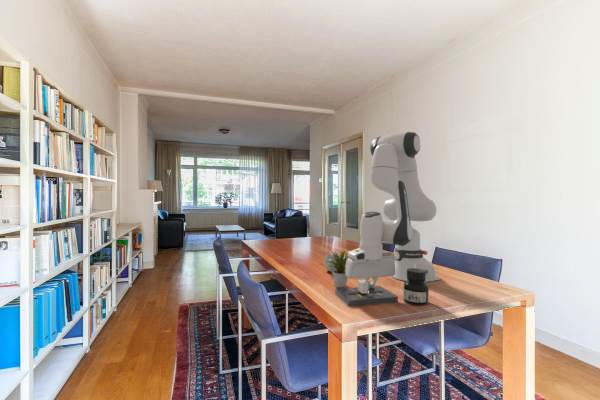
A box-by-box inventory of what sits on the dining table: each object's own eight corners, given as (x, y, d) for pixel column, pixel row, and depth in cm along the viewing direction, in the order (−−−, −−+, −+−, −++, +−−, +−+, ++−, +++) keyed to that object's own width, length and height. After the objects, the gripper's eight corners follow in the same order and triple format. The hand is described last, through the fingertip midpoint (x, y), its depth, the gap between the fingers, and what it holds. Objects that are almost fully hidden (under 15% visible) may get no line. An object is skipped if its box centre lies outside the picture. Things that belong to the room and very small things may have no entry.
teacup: (330, 267, 166) (331, 253, 166) (348, 270, 160) (348, 255, 160) (317, 272, 155) (317, 257, 155) (335, 276, 149) (336, 260, 148)
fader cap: (363, 289, 120) (363, 280, 120) (367, 293, 116) (367, 283, 116) (357, 290, 120) (357, 280, 120) (362, 293, 116) (362, 283, 116)
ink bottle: (398, 301, 114) (399, 270, 114) (407, 295, 121) (407, 266, 121) (425, 308, 108) (425, 275, 108) (432, 301, 115) (433, 270, 115)
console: (379, 290, 127) (379, 281, 127) (397, 302, 114) (398, 292, 114) (335, 293, 123) (335, 284, 123) (348, 306, 109) (348, 295, 109)
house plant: (327, 279, 144) (328, 245, 143) (356, 281, 140) (357, 246, 139) (320, 287, 130) (320, 250, 130) (352, 291, 126) (353, 252, 126)
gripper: (390, 250, 124) (389, 284, 124) (343, 252, 119) (343, 287, 119) (398, 253, 118) (398, 288, 118) (350, 255, 113) (349, 292, 113)
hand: (370, 288), depth 119 cm, fingers closed
